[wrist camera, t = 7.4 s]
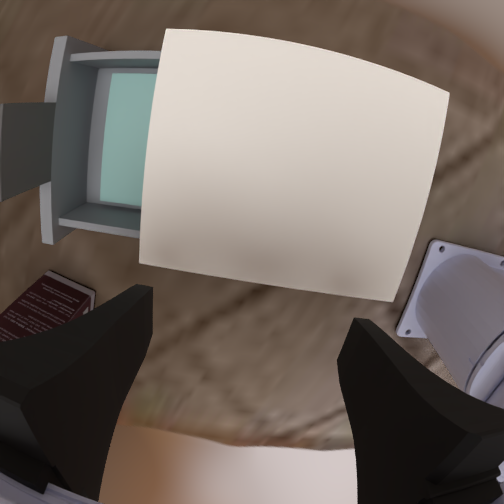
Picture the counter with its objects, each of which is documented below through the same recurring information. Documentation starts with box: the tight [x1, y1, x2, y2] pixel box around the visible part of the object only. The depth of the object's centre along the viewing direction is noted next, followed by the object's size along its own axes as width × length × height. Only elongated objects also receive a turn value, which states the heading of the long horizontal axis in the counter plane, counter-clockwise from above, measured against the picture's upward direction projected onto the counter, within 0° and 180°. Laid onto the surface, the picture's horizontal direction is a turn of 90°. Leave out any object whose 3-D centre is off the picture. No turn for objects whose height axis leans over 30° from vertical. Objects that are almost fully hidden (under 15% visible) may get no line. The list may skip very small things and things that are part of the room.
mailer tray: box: [0, 36, 161, 245], centre depth 14 cm, size 13×11×9 cm
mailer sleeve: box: [139, 29, 450, 302], centre depth 16 cm, size 13×11×6 cm
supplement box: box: [0, 271, 95, 342], centre depth 16 cm, size 9×5×16 cm, turn 159°
